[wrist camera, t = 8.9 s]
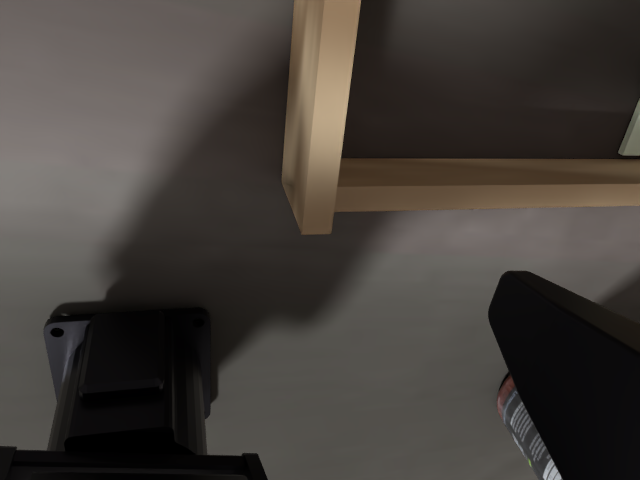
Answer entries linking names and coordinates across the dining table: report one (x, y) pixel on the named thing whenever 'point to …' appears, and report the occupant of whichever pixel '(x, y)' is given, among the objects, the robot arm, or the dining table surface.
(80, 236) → the dining table surface
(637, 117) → the front pad
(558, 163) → the bay
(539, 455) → the supplement bottle
